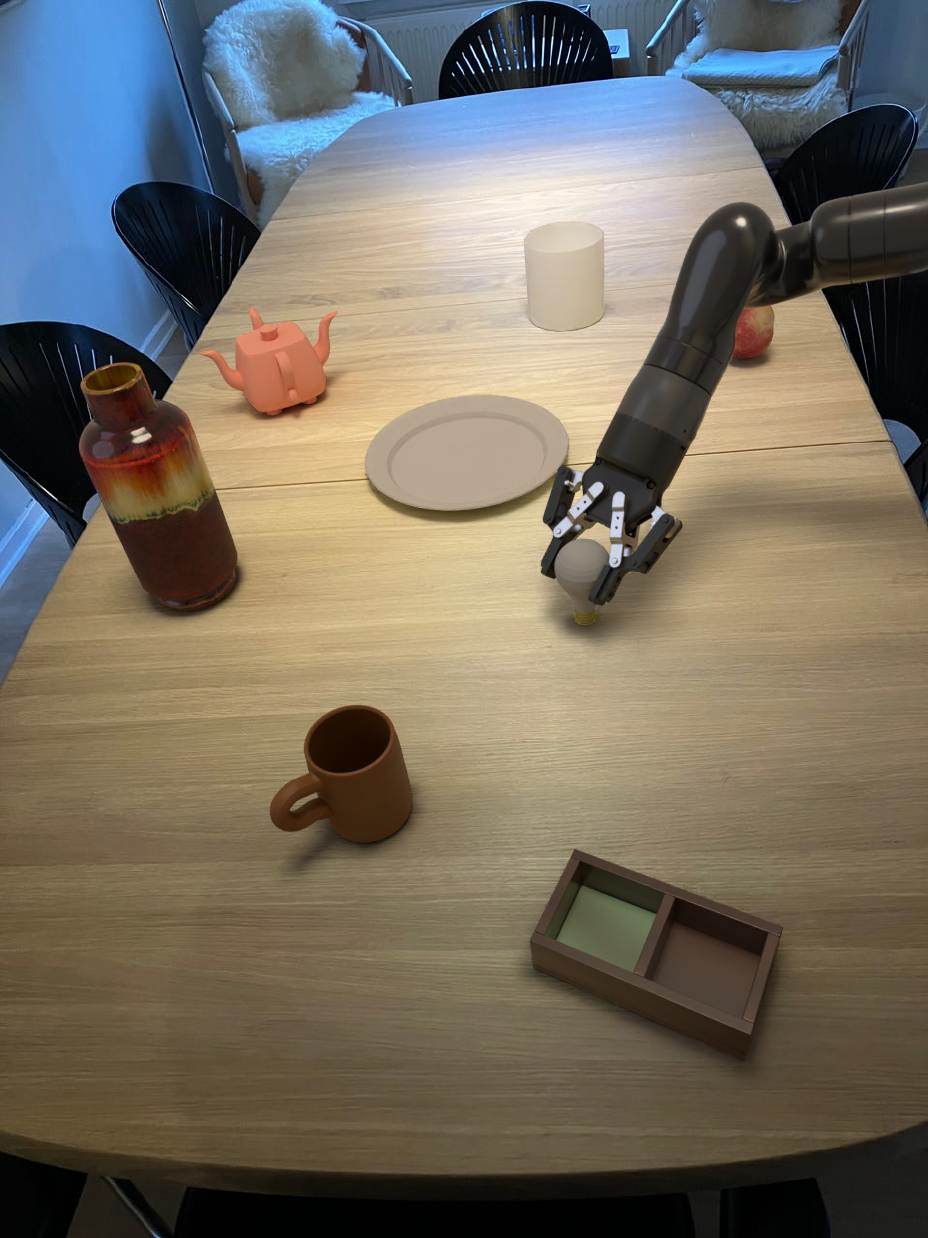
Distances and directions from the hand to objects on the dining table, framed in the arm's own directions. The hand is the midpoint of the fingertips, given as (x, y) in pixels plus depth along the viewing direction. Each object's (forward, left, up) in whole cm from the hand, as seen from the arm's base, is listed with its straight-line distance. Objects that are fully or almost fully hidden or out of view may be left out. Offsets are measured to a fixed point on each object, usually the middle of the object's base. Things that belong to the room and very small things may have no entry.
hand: (571, 589), depth 88 cm
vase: (+42, +8, -6) cm, 44 cm away
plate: (+24, -24, -6) cm, 35 cm away
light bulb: (-1, -2, -6) cm, 6 cm away
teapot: (+58, -31, -6) cm, 66 cm away
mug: (+8, +28, -6) cm, 30 cm away
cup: (+28, -65, -6) cm, 71 cm away
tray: (-19, +29, -6) cm, 35 cm away
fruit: (-1, -59, -6) cm, 59 cm away
